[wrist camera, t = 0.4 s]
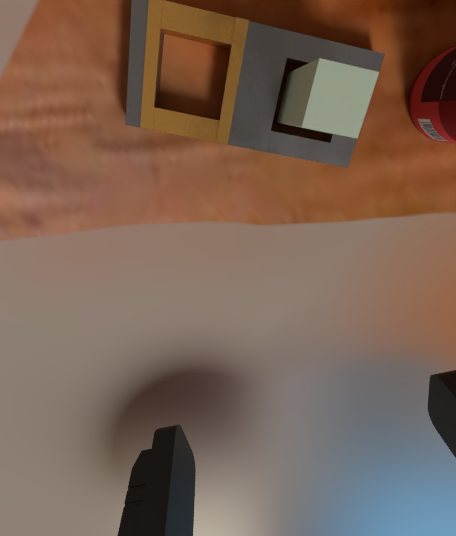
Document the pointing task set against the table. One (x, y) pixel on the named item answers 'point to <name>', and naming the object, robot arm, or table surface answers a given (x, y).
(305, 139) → the grey yellow flat board
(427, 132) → the canned food
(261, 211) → the table surface
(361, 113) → the sage block
